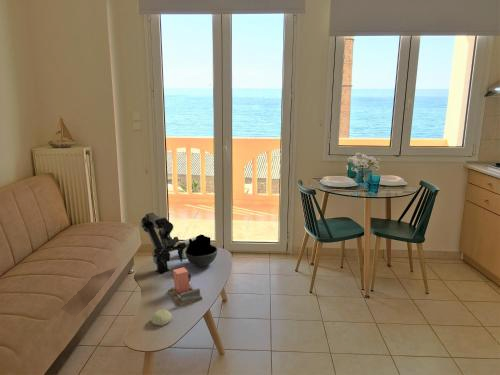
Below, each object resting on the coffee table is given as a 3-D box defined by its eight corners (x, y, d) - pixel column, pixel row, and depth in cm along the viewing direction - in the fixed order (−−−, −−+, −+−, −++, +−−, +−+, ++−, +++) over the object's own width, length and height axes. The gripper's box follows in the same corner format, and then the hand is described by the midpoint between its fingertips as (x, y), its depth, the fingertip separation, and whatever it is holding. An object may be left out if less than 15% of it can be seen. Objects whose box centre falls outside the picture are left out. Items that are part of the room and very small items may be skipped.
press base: (168, 291, 207) (167, 281, 205) (188, 285, 213) (188, 275, 211) (180, 306, 192) (179, 295, 190) (202, 299, 198) (201, 289, 196)
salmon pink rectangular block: (174, 288, 206) (173, 270, 204) (185, 285, 209) (183, 267, 207) (178, 293, 201) (177, 274, 199) (189, 290, 204) (187, 271, 202)
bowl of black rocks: (218, 257, 249) (217, 230, 244) (217, 271, 229) (215, 242, 225) (188, 259, 248) (186, 231, 244) (184, 272, 229) (181, 243, 224)
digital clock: (183, 259, 248) (182, 244, 246) (177, 255, 256) (176, 240, 253) (205, 253, 257) (204, 238, 254) (199, 249, 264) (198, 234, 262)
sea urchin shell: (176, 317, 178) (164, 311, 174) (166, 332, 177) (153, 326, 172) (168, 309, 186) (156, 302, 181) (158, 323, 184) (146, 317, 179)
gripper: (152, 236, 207) (161, 263, 201) (184, 229, 217) (193, 254, 211) (148, 244, 215) (156, 269, 210) (179, 236, 225) (187, 261, 220)
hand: (173, 263), depth 213 cm, fingers open, 9 cm apart
